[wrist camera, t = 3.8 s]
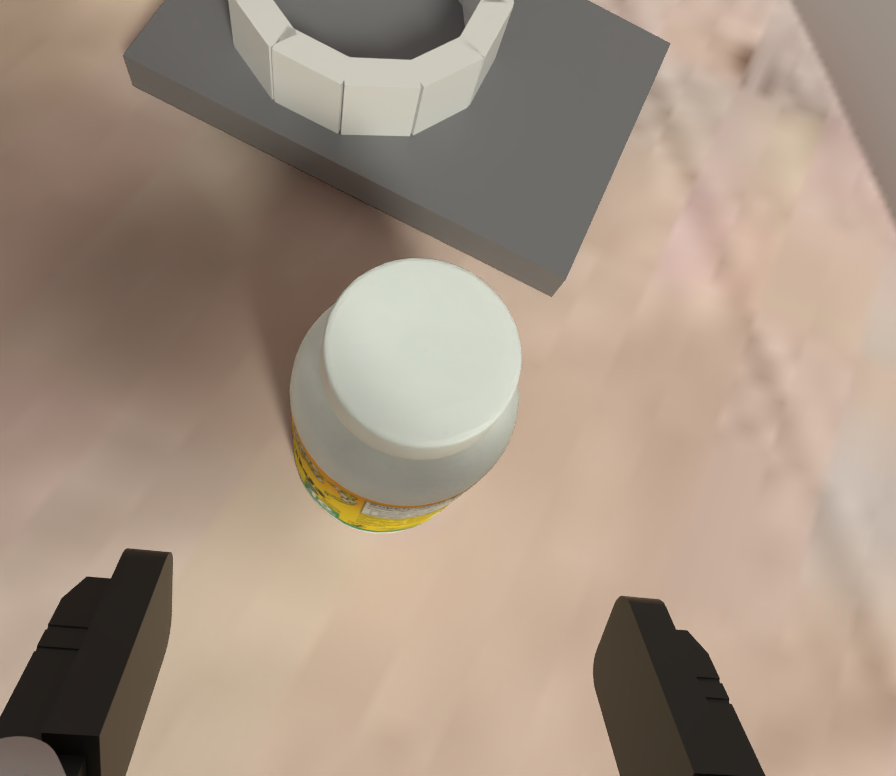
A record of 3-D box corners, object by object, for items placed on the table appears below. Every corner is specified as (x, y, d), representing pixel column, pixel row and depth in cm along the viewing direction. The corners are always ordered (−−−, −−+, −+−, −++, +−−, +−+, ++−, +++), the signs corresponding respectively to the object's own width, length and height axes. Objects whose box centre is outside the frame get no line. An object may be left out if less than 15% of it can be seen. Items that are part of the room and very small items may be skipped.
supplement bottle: (473, 525, 24) (577, 473, 15) (299, 544, 23) (296, 501, 14) (451, 361, 25) (534, 222, 16) (287, 372, 24) (277, 230, 15)
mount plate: (132, 85, 26) (103, -4, 22) (287, -121, 29) (284, -228, 26) (551, 296, 27) (592, 245, 23) (653, 70, 30) (703, -8, 26)
